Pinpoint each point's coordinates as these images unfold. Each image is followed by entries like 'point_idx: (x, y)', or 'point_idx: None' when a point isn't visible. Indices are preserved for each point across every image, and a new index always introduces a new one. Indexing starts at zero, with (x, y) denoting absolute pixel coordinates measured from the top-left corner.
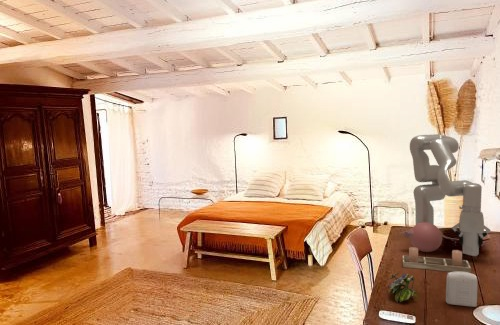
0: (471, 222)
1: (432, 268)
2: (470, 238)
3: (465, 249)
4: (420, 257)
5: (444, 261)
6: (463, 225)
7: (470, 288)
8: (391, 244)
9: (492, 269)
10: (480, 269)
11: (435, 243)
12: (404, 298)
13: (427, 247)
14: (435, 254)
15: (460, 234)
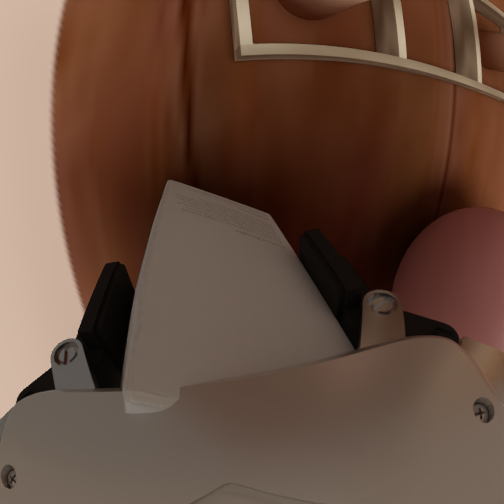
0: None
1: None
2: (228, 290)
3: (257, 221)
4: (488, 86)
5: (400, 10)
6: (489, 473)
7: None
8: None
9: (68, 64)
10: (144, 20)
11: (461, 234)
12: None
13: (470, 207)
14: (398, 224)
15: (392, 317)
